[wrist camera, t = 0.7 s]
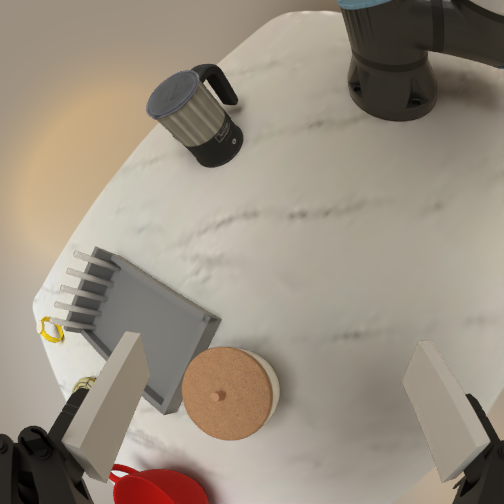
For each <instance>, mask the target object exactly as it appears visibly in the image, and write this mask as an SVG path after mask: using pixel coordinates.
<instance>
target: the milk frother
mask: <svg viewBox="0 0 504 504" xmlns="http://www.w3.org/2000/svg"><path fill="white" fill-rule="evenodd" d="M206 79H207V81H208V83H209V84H210V85H211V87H212V88H213V90H214V91H215V93H216V94H217V95H218V97H219V98H220V100H221V101H222V103H223V104H226V105H236V104H237V102H238V98H237V96H236V94H235V92H234V90H233V89H232V87H231V85H230V83H229V82H228V80H227V78H226V77H225V75H224V73H223V72H222V70H221V69H220V68H219V67H218V66H217V65H214V64H202V65H198V66H196V67H194V68H193V69H191V70H186V71H182V72H178V73H176V74H174V75H172V76H171V77H169V78H167V79H166V80H165V81H163V82H162V83H161V84H160V85H159V86H158V87H157V88H156V89H155V90H154V92H153V93H152V95H151V96H150V98H149V100H148V102H147V106H146V107H147V108H146V111H147V114H148V115H149V116H150V117H152V118H153V119H155V120H157V121H159V122H160V123H161V124H162V125H163V126H164V127H165V128H166V129H167V130H168V131H169V132H170V133H171V134H172V135H173V137H174V138H176V139H178V140H179V141H180V142H181V143H182V144H183V145H184V146H185V147H186V148H187V149H188V150H189V151H190V152H191V153H192V154H193V155H194V156H195V157H196V159H197V161H198V162H199V163H200V164H201V165H203V166H205V167H217V166H220V165H222V164H224V163H226V162H228V161H229V160H231V159H232V158H233V157H234V156H235V155H236V154H237V152H238V151H239V149H240V147H241V145H242V141H243V134H242V131H241V130H240V128H239V127H238V126H236V125H235V124H234V123H233V121H232V120H231V118H230V117H229V115H228V114H227V113H226V112H225V111H224V109H223V108H222V107H221V106H220V104H219V103H218V102H217V100H216V99H215V98H214V97H213V95H212V94H211V93H210V92H209V90H208V89H207V88H206V87H205V85H204V84H203V83H204V81H205V80H206Z"/></svg>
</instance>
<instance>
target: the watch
mask: <svg viewBox="0 0 504 504" xmlns="http://www.w3.org/2000/svg"><path fill="white" fill-rule="evenodd" d="M49 319H50V317H44V318H42V319H41V321H39V322H38V323H37V332H38V333H39V334H42V336H43V337H44V338H45V339H46V340H48V341H50V342H53V343H57V342H59V341H60V340H61V339H62V337H63V335H64V334H63V332H62V329H61V325H56V324H54V325H55V326H56V327H57V329H58V332H59V335H60V337H59V338H54V337H51V336H50V335H48V334H47V333H46V332H45V331H44V321H47V322H49Z"/></svg>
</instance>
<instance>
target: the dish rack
mask: <svg viewBox="0 0 504 504" xmlns="http://www.w3.org/2000/svg"><path fill="white" fill-rule="evenodd" d="M74 257H77V258H79V259H82V260H85V261H88V264H87V267H86V269H85V272H84V273H83V272H80V271H77V270H74V269H71V268H68V269H67V274H69V275H72V276H75V277H78V278H82V279H81V281H80V284H79V286H78V289H75V288H72V287H68V286H65V285H61V287H60V290H61V291H63V292H67V293H70V294H74V295H75V297H74V300H73V302H72V305H69V304H65V303H61V302H57V301H56V302H55V304H54V306H55V308H60V309H64V310H69V313H68V316H67V319H66V320H62V319H56V318H51V317H50V319H49V323H51V324H56V325H62V326H64V329H65V331H69V332H76V333H81V334H82V335H83V336H84V337H85V339H86V340H87V341H88V342H89V343H90V344H91V345H92V346H93V348H94V349H95V350H96V351H97V352H98V353H99V354H100V355H101V356H102V357H103V358H104V359H105V360H106V361H107V360H108V359H109V357H110V356H111V354H112V352H113V351H114V349H115V348H116V346H117V344H118V343H119V341H120V340H121V338H122V336H123V335H124V333H125V332H126V331H127V332H134V333H140V334H141V338H142V343H143V348H144V352H145V357H146V361H147V365H148V369H149V373H150V377H149V379H148V382H147V384H146V386H145V389H144V391H143V393H142V396H143V397H144V398H145V399H146V400H147V401H148V402H149V403H150V404H151V405H153V406H154V407H155V408H156V409H157V410H158V411H160V412H161V413H162V414H163V415H166V414H171V413H175V412H177V410H178V408H179V406H180V404H181V402H182V400H183V397H182V383H183V378H184V374H185V372H186V369H187V367H188V366H189V364H190V363H191V361H192V360H193V359H194V358H195V357H196V356H197V355H199V354H200V353H202V352H203V351H205V350H207V348H208V346H209V344H210V342H211V340H212V338H213V336H214V334H215V332H216V330H217V328H218V326H219V324H220V322H221V319H220V318H218V317H216V316H215V315H213V314H211V313H209V312H208V311H206V310H204V309H203V308H201V307H199V306H198V305H196V304H194V303H193V302H191V301H189V300H188V299H186V298H185V297H183V296H181V295H180V294H178V293H176V292H175V291H173V290H172V289H170V288H169V287H167V286H165V285H164V284H162V283H161V282H159V281H157V280H156V279H154V278H153V277H151V276H150V275H148V274H147V273H145V272H144V271H142V270H141V269H139V268H138V267H136V266H134V265H133V264H131V263H130V262H129V261H127V260H126V259H124V258H123V257H121V256H118V255H116V254H113V253H111V252H108V251H106V250H103V249H101V248H98V247H96V246H95V248H94V251H93V253H92V255H91V256H89V255H87V254H84V253H81V252H79V251H75V252H74Z"/></svg>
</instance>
